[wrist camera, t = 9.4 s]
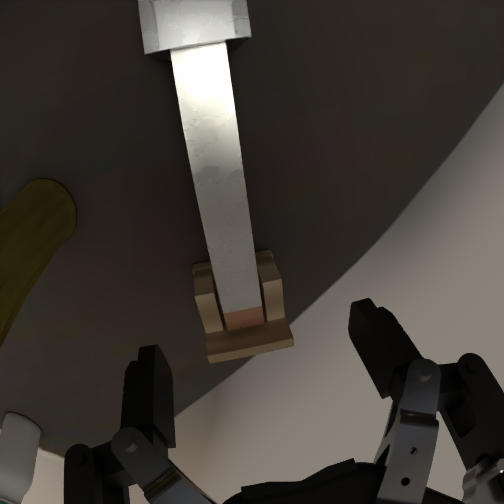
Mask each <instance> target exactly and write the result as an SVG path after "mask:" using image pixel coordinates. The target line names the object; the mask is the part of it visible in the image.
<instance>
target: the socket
mask: <svg viewBox="0 0 504 504" xmlns="http://www.w3.org/2000/svg"><path fill="white" fill-rule="evenodd" d="M255 258H256V266H257V273H258V280H259V288H260V295H261V302H262V310H263V317H264V324H261V325H256V326H251V327H247V328H242V329H237V330H232V331H228V330H227V326H226V322H225V318H224V314H223V310H222V306H221V302H220V298H219V294H218V289H217V285H216V281H215V277H214V273H213V268H212V264H211V261H208V262H203V263H198V264H193V265H192V270H193V275H194V294H195V299H196V303H197V306H198V309H199V312H200V316H201V319H202V322H203V325H204V328H205V338H206V349H207V357H208V360H209V362H210V363H215V362H221V361H226V360H231V359H236V358H242V357H246V356H251V355H256V354H260V353H265V352H270V351H274V350H279V349H283V348H287V347H291V346H294V339H293V335H292V333H291V330H290V327H289V325H288V322H287V319H286V317H285V314H284V302H283V289H282V279H281V276H280V274H279V272H278V269H277V267H276V265H275V262H274V260H273V255H272V253H271V250H270V249H269V250H264V251H259V252H255Z"/></svg>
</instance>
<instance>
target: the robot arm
mask: <svg viewBox="0 0 504 504" xmlns="http://www.w3.org/2000/svg"><path fill="white" fill-rule="evenodd" d="M348 331H349V336H350V339H351V341H352V343H353V345H354V347H355V348H356V350H357V352H358V354H359V356H360V358H361V359H362V362H363V363H364V365H365V367H366V369H367V371H368V373H369V375H370V376H371V378H372V380H373V383H374V384H375V386H376V388H377V390H378V392H379V394H380V396H381V398H382V399H384V398H386V397H389V396H390V397H391V398H392V400H393V402H392V405H391V409H390V413H389V417H388V421H387V425H386V428H385V432H384V435H383V438H382V442H381V444H380V447H379V449H378V451H377V453H376V456H375V459H374V462H373V463H367V462H357V463H355V460H354V458H352V459H349V460H346V461H343V462H340V463H337V464H334V465H331V466H328V467H326V468H324V469H322V470H320V471H319V472H317V473H315V474H313V475H311V476H310V477H308V478H306V479H304V480H302V481H296V482H265V483H260V484H255V485H249V486H243V487H241V491H242V492H240V493H238V494H235V495H234V496H232V497H230V498H229V499H227V500H226V501H225V502H224V503H223V504H504V392H503V390H502V389H501V387H500V385H499V384H498V382H497V380H496V379H495V377H494V376H493V374H492V372H491V371H490V369H489V368H488V366H487V365H486V363H485V362H484V360H483V359H482V358H481V357H480V356H478V355H477V354H474V353H467V354H464V355H462V356H461V357H460V359H459V360H458V362H457V363H449V364H440V365H438V364H436V363H435V362H434V361H432V360H430V359H425V358H423V357H422V356H421V354H420V353H419V351H418V350H417V348H416V347H415V345H414V344H413V342H412V341H411V339H410V338H409V336H408V335H407V334H406V332H405V331H404V330H403V328H402V326H401V325H400V324H399V323H398V321H397V319H396V318H395V316H394V315H393V314H392V313H391V312H390V311H388V310H387V309H385V308H384V307H379V308H377V307H376V306H375V305H374V303H373V301H371V299H369V298H366V299H362V300H359V301H355V302H352V304H351V309H350V317H349V325H348ZM124 384H125V385H124V388H123V392H124V394H123V400H122V413H121V426H120V430H119V431H118V432H116V434H115V435H114V436H113V438H112V440H111V441H110V442H107V443H105V444H102V445H99V446H96V447H93V448H89V447H88V446H86V445H84V444H76V445H73V446H72V447H70V448H69V449H68V451H67V452H66V455H65V461H64V504H130V498H129V488H128V486H131V485H134V484H138V485H139V487H140V488H141V489H142V490H143V492H144V496H145V498H146V499H147V501H148V502H149V503H150V504H217V503H216V502H215V501H214V500H213V499H212V498H210V497H209V496H208V495H207V494H206V493H205V492H203V491H202V490H201V489H200V488H199V487H198V486H196V485H195V484H194V483H193V482H192V481H191V480H190V479H189V478H188V477H187V476H186V475H185V474H184V473H183V472H182V471H181V470H180V469H179V468H178V467H177V466H176V465H175V464H174V463H173V462H172V461H171V460H170V459H169V458H168V448H175V447H176V442H175V425H174V401H173V376H172V371H171V368H170V366H169V364H168V362H167V360H166V358H165V356H164V354H163V353H162V351H161V349H160V347H159V345H150V346H144V347H140V348H139V354H138V360H137V361H131V362H130V364H129V366H128V368H127V369H126V371H125V378H124ZM437 411H439V412H440V414H441V415H442V418H443V420H444V422H445V424H446V426H447V428H448V430H449V432H450V435H451V436H452V439H453V441H454V443H455V445H456V447H457V450H458V452H459V454H460V456H461V459H462V461H463V464H464V466H465V468H466V470H467V472H466V474H465V475H464V478H463V485H462V488H463V490H464V496H463V499H462V501H460V500H458V499H455V498H452V497H450V496H447V495H445V494H442V493H440V492H438V491H435V490H433V489H431V488H428V487H426V485H427V480H428V476H429V473H430V469H431V465H432V460H433V455H434V451H435V446H436V441H437V435H438V430H439V421H438V420H436V412H437Z"/></svg>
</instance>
